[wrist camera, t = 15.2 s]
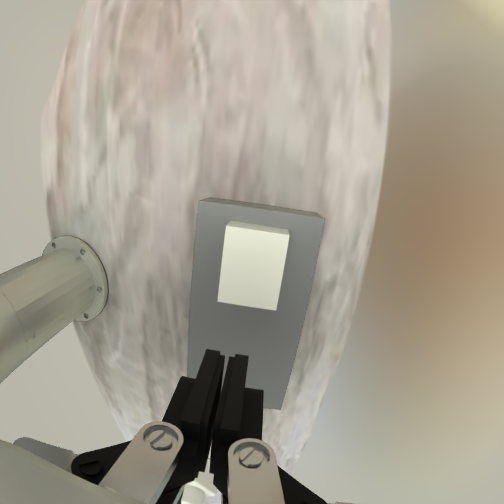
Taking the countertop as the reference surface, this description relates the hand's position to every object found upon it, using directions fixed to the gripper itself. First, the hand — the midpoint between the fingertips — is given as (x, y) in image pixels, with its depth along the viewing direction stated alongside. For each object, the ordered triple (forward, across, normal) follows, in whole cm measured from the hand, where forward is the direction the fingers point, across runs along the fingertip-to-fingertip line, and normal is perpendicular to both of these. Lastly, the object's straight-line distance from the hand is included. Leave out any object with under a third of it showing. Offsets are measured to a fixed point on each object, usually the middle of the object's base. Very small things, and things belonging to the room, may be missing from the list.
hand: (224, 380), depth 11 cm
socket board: (+23, 0, +7) cm, 24 cm away
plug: (+23, 0, 0) cm, 23 cm away
